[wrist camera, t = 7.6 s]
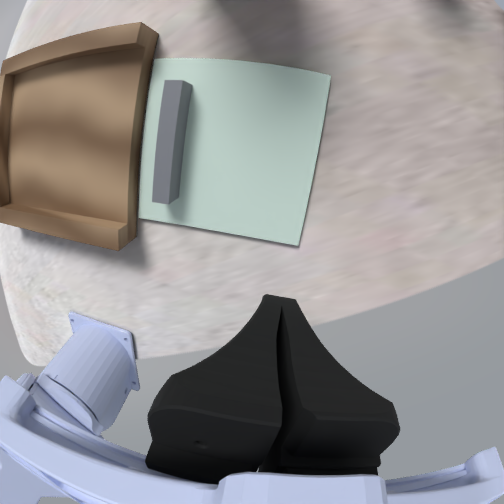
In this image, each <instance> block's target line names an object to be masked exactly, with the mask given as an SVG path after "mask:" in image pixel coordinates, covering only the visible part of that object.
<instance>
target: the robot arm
mask: <svg viewBox="0 0 504 504" xmlns="http://www.w3.org/2000/svg"><path fill="white" fill-rule="evenodd" d="M69 319H70V323H71V327H72V331H73V335H72V336H71V337H70V339H69V340H68V341H67V342H66V343H65V345H64V346H63V347H62V348H61V349H60V350H59V352H58V353H57V354H56V355H55V356H54V358H53V359H52V360H51V361H50V363H49V364H48V365H47V366H46V367H45V369H44V370H43V371H42V373H41V374H40V375H39V376H37V377H36V378H35V376H34V375H33V374H32V373H29V374H28V373H23V374H22V375H21V376H20V377H19V379H18V380H17V381H14V380H13V379H12V378H10V377H9V376H7V375H6V376H4V378H3V379H2V380H1V381H0V504H38V502H39V501H40V499H41V497H69V498H71V499H73V500H75V501H76V502H78V503H80V504H489V503H491V502H492V501H494V500H495V499H497V498H498V497H500V496H502V495H503V494H504V469H503V466H502V463H501V460H500V458H499V455H498V452H497V450H496V447H492V448H489V449H486V450H483V451H480V452H478V453H476V454H474V455H473V456H472V457H470V458H469V459H468V460H467V461H466V462H465V463H464V464H460V465H457V466H453V467H450V468H446V469H443V470H438V471H434V472H430V473H425V474H420V475H416V476H410V477H404V478H397V479H391V480H383V479H382V478H381V477H379V476H378V472H377V467H379V466H380V464H381V461H380V454H381V453H382V452H383V451H384V450H386V449H387V448H388V447H389V446H390V445H391V444H392V443H393V441H394V440H395V439H396V438H397V436H398V435H399V432H400V426H399V422H398V418H397V414H396V411H395V408H394V406H393V403H392V402H390V401H389V400H387V399H385V398H383V397H382V396H380V395H379V394H377V393H375V392H374V391H372V390H370V389H369V388H368V387H366V386H365V385H364V384H362V383H361V382H360V381H358V380H357V379H356V378H355V377H353V376H352V375H351V374H350V373H349V372H348V371H347V370H346V369H345V368H343V367H342V366H341V365H340V364H339V363H338V362H337V361H336V360H335V359H334V357H333V356H332V355H331V354H330V353H329V352H328V351H327V349H326V348H325V347H324V346H323V344H322V343H321V342H320V340H319V339H318V337H317V336H316V334H315V333H314V331H313V330H312V328H311V326H310V325H309V323H308V321H307V320H306V318H305V316H304V314H303V313H302V311H301V309H300V307H299V305H298V303H297V301H296V300H295V299H291V298H285V297H279V296H274V295H268V294H266V295H264V296H263V298H262V301H261V303H260V305H259V307H258V309H257V310H256V312H255V313H254V315H253V316H252V318H251V319H250V320H249V322H248V323H247V324H246V325H245V326H244V327H243V329H242V330H241V331H240V332H239V333H238V334H237V335H236V336H235V337H234V338H233V339H232V340H230V341H229V342H228V343H227V344H226V345H225V346H223V347H222V348H221V349H219V350H218V351H217V352H215V353H214V354H213V355H211V356H210V357H208V358H206V359H204V360H203V361H201V362H199V363H197V364H196V365H194V366H192V367H190V368H187V369H185V370H183V371H181V372H179V373H176V374H173V375H171V377H170V378H169V379H168V380H167V381H166V383H165V384H164V385H163V387H162V388H161V390H160V391H159V393H158V394H157V396H156V398H155V399H154V401H153V404H152V406H151V409H150V411H149V413H148V425H149V429H150V432H151V436H152V440H153V441H152V443H151V446H150V449H149V451H148V454H147V456H146V455H143V454H140V453H138V452H135V451H132V450H129V449H127V448H124V447H121V446H119V445H116V444H114V443H112V442H109V441H107V440H104V438H103V437H102V436H101V435H100V434H101V432H103V431H105V430H106V429H108V428H109V427H110V426H111V425H112V424H113V423H114V421H115V419H116V418H117V415H118V413H119V412H120V410H121V408H122V406H123V404H124V402H125V400H126V398H127V396H128V394H129V392H130V391H131V389H133V390H136V391H138V390H139V389H140V385H139V379H138V373H137V368H136V362H135V355H134V348H133V341H132V335H131V333H130V332H129V331H127V330H124V329H121V328H118V327H115V326H112V325H109V324H106V323H103V322H100V321H97V320H94V319H91V318H88V317H85V316H83V315H80V314H77V313H74V312H70V313H69ZM258 468H259V471H258V472H256V471H257V470H258Z"/></svg>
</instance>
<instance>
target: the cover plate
mask: <svg viewBox="0 0 504 504" xmlns="http://www.w3.org/2000/svg"><path fill="white" fill-rule="evenodd" d="M330 79H331V75H327V74H323V73H318V72H313V71H309V70H303V69H298V68H293V67H287V66H280V65H274V64H266V63H259V62H250V61H239V60H226V59H208V58H161V59H154V65H153V70H152V76H151V82H150V88H149V94H148V101H147V109H146V117H145V125H144V134H143V144H142V156H141V170H140V188H139V218H143V219H149V220H155V221H161V222H167V223H173V224H179V225H185V226H191V227H197V228H202V229H208V230H214V231H219V232H225V233H231V234H236V235H242V236H247V237H253V238H259V239H264V240H270V241H275V242H280V243H286V244H291V245H297V246H298V244H299V240H300V235H301V231H302V226H303V222H304V217H305V213H306V208H307V203H308V199H309V194H310V189H311V184H312V179H313V174H314V169H315V164H316V159H317V154H318V149H319V143H320V138H321V132H322V127H323V121H324V115H325V110H326V104H327V98H328V91H329V85H330Z"/></svg>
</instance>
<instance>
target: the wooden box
mask: <svg viewBox="0 0 504 504" xmlns="http://www.w3.org/2000/svg"><path fill="white" fill-rule="evenodd" d="M157 38H158V33H157V32H155V31H154V30H152V29H151V28H149V27H148V26H146V25H145V24H143V23H142V22H137V23H130V24H124V25H118V26H112V27H107V28H102V29H97V30H93V31H89V32H85V33H81V34H77V35H73V36H69V37H66V38H63V39H59V40H56V41H53V42H50V43H47V44H44V45H41V46H38V47H36V48H33V49H30V50H28V51H25V52H23V53H20V54H18V55H15V56H13V57H11V58H8V59H6V60H4V61H3V63H2V68H1V74H0V223H4V224H8V225H12V226H16V227H20V228H24V229H27V230H31V231H36V232H40V233H44V234H48V235H52V236H56V237H60V238H64V239H69V240H73V241H77V242H81V243H86V244H90V245H94V246H99V247H103V248H108V249H112V250H117V251H119V250H121V249H122V248H123V247H124V246H126V245H127V244H128V243H129V242H130V241H132V240H133V239H134V238H136V225H137V190H138V172H139V158H140V146H141V136H142V127H143V119H144V111H145V104H146V97H147V90H148V84H149V78H150V72H151V67H152V62H153V57H154V52H155V47H156V43H157Z"/></svg>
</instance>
